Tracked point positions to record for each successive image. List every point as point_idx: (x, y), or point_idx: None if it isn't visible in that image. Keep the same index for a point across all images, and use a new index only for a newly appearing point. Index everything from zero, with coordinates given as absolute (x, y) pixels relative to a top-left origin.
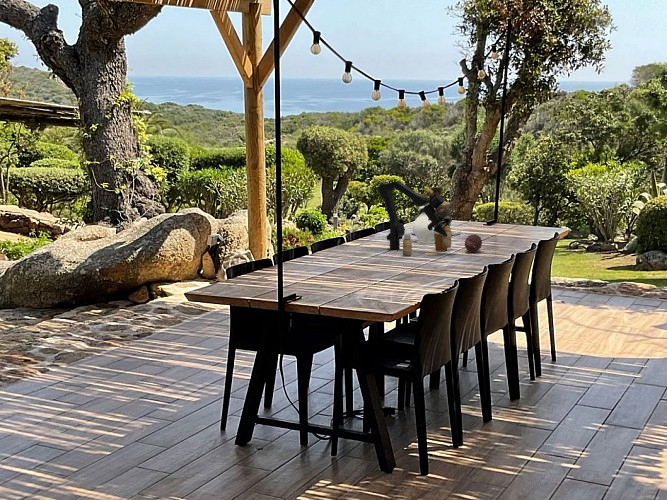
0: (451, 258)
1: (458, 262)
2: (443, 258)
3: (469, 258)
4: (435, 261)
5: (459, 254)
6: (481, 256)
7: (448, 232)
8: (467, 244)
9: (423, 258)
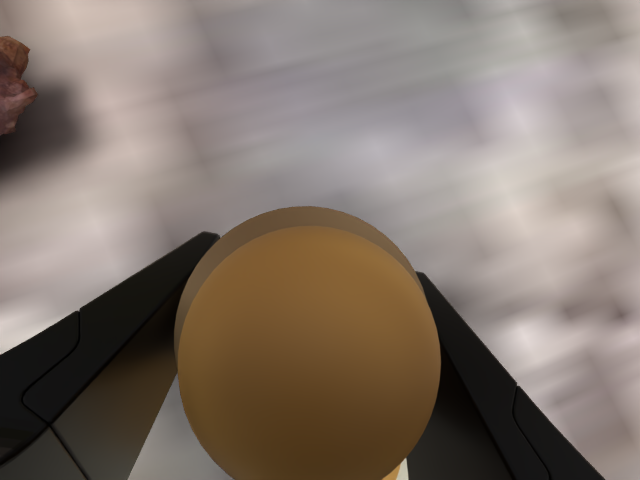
0: (406, 208)
1: (560, 100)
2: (437, 272)
3: (339, 70)
4: (605, 283)
5: (159, 210)
6: (192, 3)
7: (396, 254)
8: (10, 114)
9: None
